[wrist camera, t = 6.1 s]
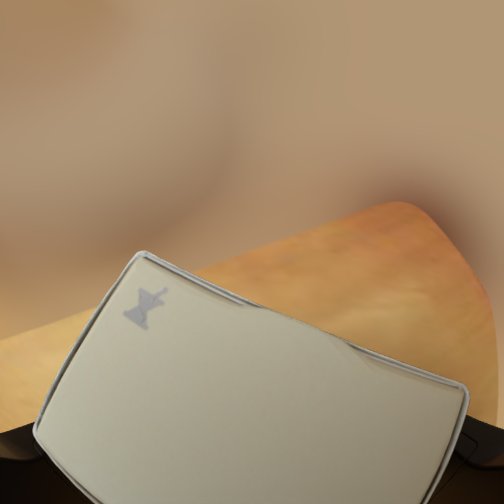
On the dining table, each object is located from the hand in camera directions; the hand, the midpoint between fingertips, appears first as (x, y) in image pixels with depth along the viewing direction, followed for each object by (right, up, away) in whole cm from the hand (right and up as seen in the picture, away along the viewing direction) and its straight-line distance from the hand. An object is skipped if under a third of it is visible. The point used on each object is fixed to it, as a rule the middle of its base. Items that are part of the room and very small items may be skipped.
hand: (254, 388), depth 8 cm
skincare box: (+1, -5, +5) cm, 7 cm away
